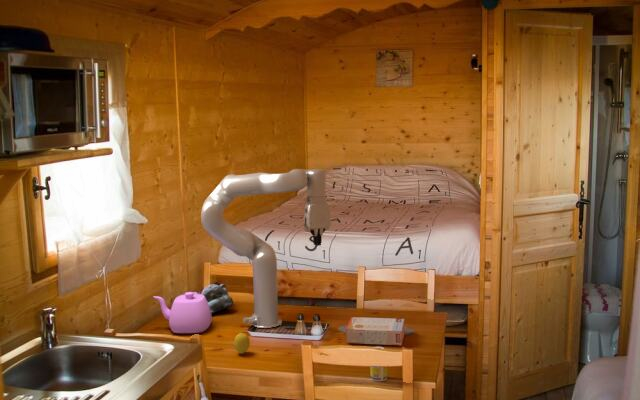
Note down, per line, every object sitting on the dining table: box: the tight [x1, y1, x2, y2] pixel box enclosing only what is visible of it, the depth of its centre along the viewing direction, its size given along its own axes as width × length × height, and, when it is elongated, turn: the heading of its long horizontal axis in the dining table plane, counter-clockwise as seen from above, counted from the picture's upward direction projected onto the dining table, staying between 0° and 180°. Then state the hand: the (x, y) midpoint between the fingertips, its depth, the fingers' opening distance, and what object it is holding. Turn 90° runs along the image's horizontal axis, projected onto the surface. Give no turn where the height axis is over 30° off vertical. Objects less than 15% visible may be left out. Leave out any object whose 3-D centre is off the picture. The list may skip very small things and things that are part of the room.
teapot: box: [152, 291, 213, 334], centre depth 280 cm, size 23×21×15 cm
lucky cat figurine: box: [197, 281, 234, 315], centre depth 302 cm, size 15×12×14 cm
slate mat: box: [337, 325, 416, 336], centre depth 272 cm, size 23×20×1 cm
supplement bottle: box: [369, 346, 388, 382], centre depth 225 cm, size 6×6×10 cm
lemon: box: [233, 332, 250, 355], centre depth 250 cm, size 6×6×8 cm
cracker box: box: [345, 316, 406, 346], centre depth 262 cm, size 14×6×21 cm
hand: (317, 244), depth 281 cm, fingers closed
